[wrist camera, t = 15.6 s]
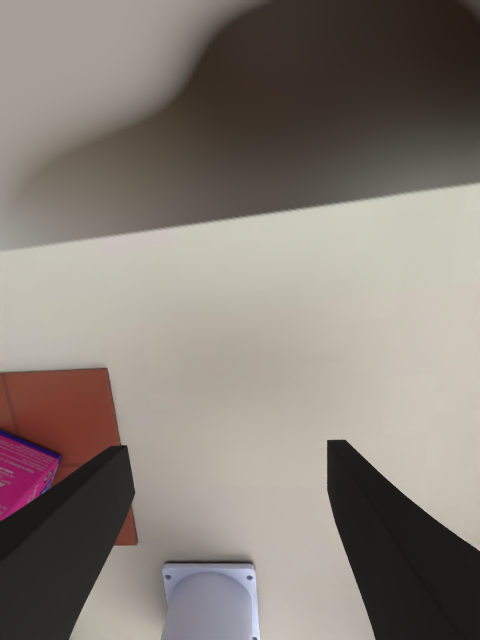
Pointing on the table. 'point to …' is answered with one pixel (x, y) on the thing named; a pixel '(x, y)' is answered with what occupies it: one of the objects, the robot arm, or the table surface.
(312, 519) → the table surface
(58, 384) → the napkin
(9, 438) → the supplement box
